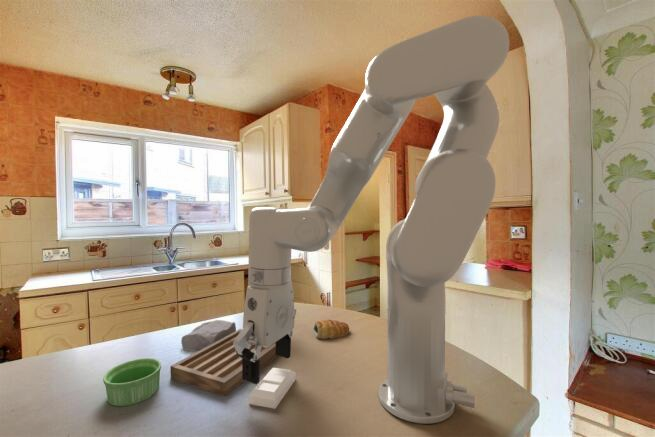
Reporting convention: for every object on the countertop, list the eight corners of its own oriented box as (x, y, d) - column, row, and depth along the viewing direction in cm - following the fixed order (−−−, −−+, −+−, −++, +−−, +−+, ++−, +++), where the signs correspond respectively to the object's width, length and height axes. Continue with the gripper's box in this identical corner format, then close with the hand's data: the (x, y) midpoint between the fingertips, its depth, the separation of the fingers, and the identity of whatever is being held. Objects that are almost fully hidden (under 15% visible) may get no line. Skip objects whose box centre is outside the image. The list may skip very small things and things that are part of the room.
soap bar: (295, 381, 61) (295, 368, 61) (275, 411, 52) (275, 395, 52) (272, 378, 62) (272, 365, 62) (249, 406, 54) (248, 390, 54)
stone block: (178, 357, 74) (215, 352, 72) (174, 337, 75) (211, 331, 73) (207, 338, 86) (240, 333, 84) (203, 321, 86) (236, 315, 84)
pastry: (344, 327, 87) (344, 314, 87) (353, 337, 81) (353, 322, 80) (311, 331, 85) (311, 317, 84) (318, 342, 78) (317, 327, 78)
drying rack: (286, 349, 74) (286, 338, 74) (224, 396, 56) (224, 382, 56) (239, 338, 80) (239, 329, 80) (170, 378, 62) (170, 366, 62)
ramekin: (126, 379, 62) (125, 357, 62) (171, 379, 62) (170, 357, 61) (91, 409, 53) (89, 383, 53) (143, 409, 53) (142, 384, 52)
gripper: (256, 289, 47) (254, 400, 48) (310, 269, 63) (308, 352, 63) (218, 283, 50) (217, 386, 51) (279, 265, 66) (277, 344, 67)
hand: (268, 367), depth 57 cm, fingers open, 9 cm apart
